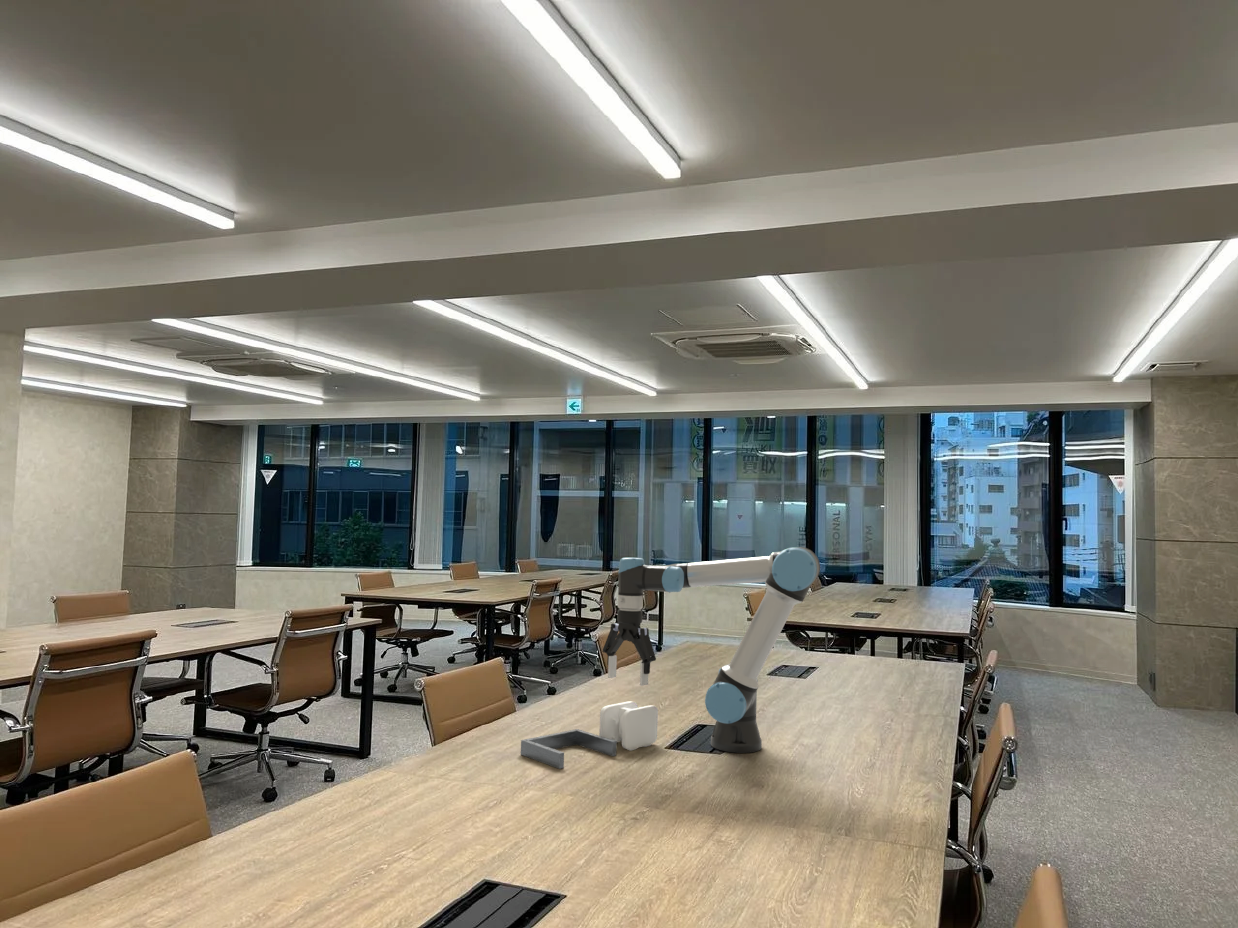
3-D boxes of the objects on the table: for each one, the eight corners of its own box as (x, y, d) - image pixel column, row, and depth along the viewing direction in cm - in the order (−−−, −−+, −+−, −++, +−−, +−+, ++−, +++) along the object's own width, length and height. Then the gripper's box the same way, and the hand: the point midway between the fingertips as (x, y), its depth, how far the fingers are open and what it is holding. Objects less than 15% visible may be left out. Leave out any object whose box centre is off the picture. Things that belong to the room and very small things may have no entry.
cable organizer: (623, 753, 240) (624, 712, 241) (597, 745, 248) (598, 705, 248) (657, 744, 251) (658, 705, 252) (631, 737, 259) (632, 699, 259)
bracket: (616, 755, 238) (616, 740, 238) (559, 768, 223) (559, 753, 224) (576, 742, 250) (577, 728, 250) (520, 754, 236) (521, 739, 236)
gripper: (592, 605, 258) (590, 675, 256) (651, 614, 240) (649, 689, 238) (610, 604, 263) (608, 673, 262) (669, 612, 245) (666, 686, 244)
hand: (627, 681), depth 250 cm, fingers open, 13 cm apart
